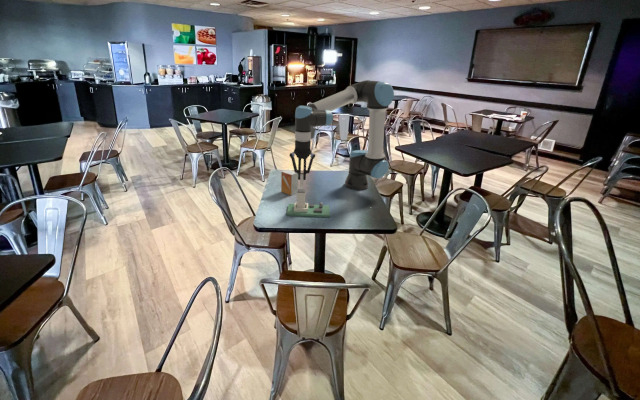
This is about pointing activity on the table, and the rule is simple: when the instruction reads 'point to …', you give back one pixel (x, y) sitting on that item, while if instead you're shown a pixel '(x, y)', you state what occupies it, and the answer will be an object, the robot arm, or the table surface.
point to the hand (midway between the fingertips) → (301, 185)
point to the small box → (289, 182)
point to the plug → (301, 198)
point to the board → (309, 210)
